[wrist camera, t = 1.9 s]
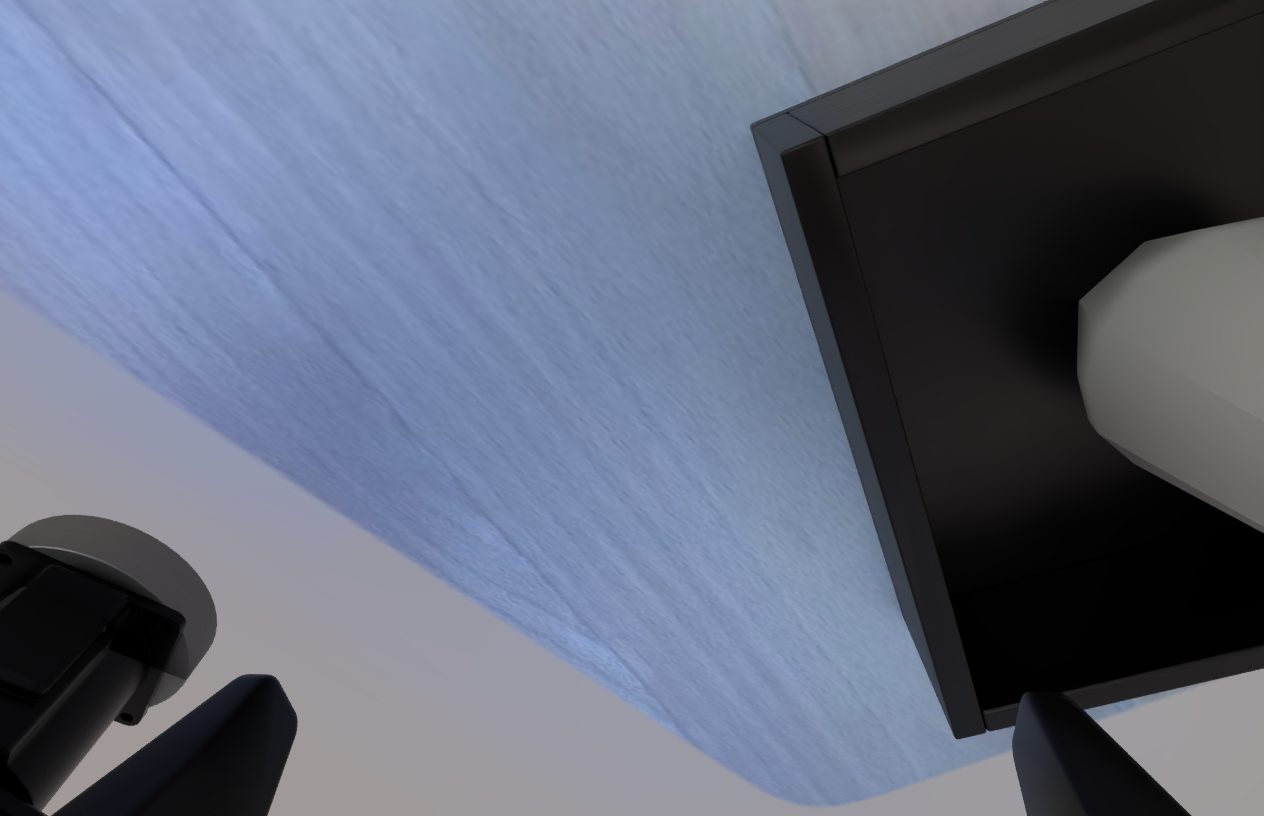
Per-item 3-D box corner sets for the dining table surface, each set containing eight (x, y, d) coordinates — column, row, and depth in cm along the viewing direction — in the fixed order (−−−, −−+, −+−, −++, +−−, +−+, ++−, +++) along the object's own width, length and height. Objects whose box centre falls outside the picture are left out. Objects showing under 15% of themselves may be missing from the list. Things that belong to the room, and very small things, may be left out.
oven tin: (903, 617, 23) (956, 741, 19) (749, 123, 16) (779, 153, 12) (1476, 464, 20) (1686, 573, 16) (1564, -216, 13) (1956, -325, 9)
